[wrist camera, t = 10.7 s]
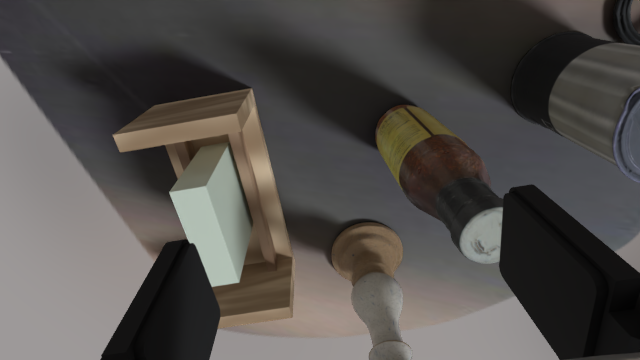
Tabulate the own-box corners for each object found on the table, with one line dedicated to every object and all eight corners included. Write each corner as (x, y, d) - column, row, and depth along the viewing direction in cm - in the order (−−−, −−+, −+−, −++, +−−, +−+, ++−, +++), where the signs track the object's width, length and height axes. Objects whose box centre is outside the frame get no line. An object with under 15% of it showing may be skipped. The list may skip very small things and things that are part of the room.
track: (154, 105, 37) (112, 135, 29) (251, 88, 37) (236, 113, 29) (217, 274, 47) (198, 331, 39) (295, 262, 47) (292, 317, 39)
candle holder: (413, 258, 47) (480, 424, 29) (353, 288, 49) (380, 461, 31) (380, 208, 44) (433, 360, 25) (317, 242, 45) (324, 407, 27)
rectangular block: (196, 147, 38) (162, 193, 30) (229, 141, 38) (205, 186, 29) (223, 227, 43) (201, 288, 34) (253, 222, 43) (239, 282, 34)
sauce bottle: (375, 161, 41) (429, 288, 23) (370, 106, 38) (427, 202, 20) (435, 152, 41) (536, 274, 23) (434, 96, 38) (548, 184, 20)
